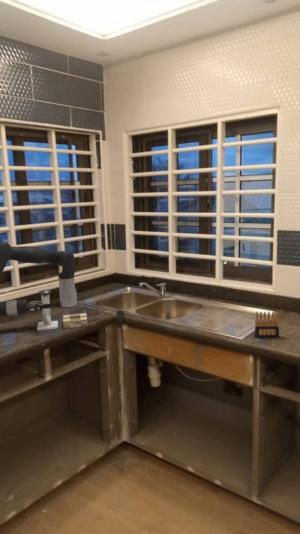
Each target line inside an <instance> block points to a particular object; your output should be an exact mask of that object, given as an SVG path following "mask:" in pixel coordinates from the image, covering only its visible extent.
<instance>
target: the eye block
mask: <svg viewBox="0 0 300 534" xmlns="http://www.w3.org/2000/svg"><path fill="white" fill-rule="evenodd" d="M62 324H63V325H62V326H63V327H62V328H63V329H73V328H83V327H88V325H89V324H88V317H87V313H86V312H83V313H82V312H81V313H74V314H73V313H72V314H63V315H62Z"/></svg>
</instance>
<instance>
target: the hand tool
mask: <svg viewBox="0 0 300 534" xmlns="http://www.w3.org/2000/svg"><path fill="white" fill-rule="evenodd" d="M115 313H116V325H117V327H118V328H120V327H122V325H123V319H124V317H125V312H124V311H123V310H121V309H119V310H118V311H116V312H115Z"/></svg>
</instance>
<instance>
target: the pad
mask: <svg viewBox="0 0 300 534" xmlns="http://www.w3.org/2000/svg"><path fill="white" fill-rule="evenodd" d="M51 322H52V323H50V324H44V323H43V321H39V322H38V323H37V327H36V330H37V331H45V330H57V329H58V328H59V321H58V320H51Z"/></svg>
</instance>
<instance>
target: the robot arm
mask: <svg viewBox="0 0 300 534" xmlns="http://www.w3.org/2000/svg"><path fill="white" fill-rule="evenodd" d="M9 260H10V261H15V262H16V261H17V262H21V263H27V264H35V265H36V264H37V265H40V264H41V265H42V264H51V265H54V266H58V267H62V268H61V272H59V273H58V275H57V276H58V277H57V278H58V288H59V301H60V307H61V308H71V307H75V306H77V305H78V296H77V295H78V294H77V288H76V286H75V285H76V283H75V272H76V259H75V255H74V254H73V252H71V251H66V250H47V249H45V248H42V247H37V246H31V245H30V246H12V245H10V243H9V242H6V241H0V278H1V277H2V274H3V272H4V270H5V268H6V266H7V263H8V261H9ZM52 307H53V302H52V301H51V300H50V304H42V300H32V301H29V302H27V299H11V300H7V301H0V317H1V316H3V317H5V316H19V315H20V316H21V315H27V314H28V311H30V313H34V312H41V311H42V309H46V308H50V309H51V308H52ZM42 312H43V311H42Z"/></svg>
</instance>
